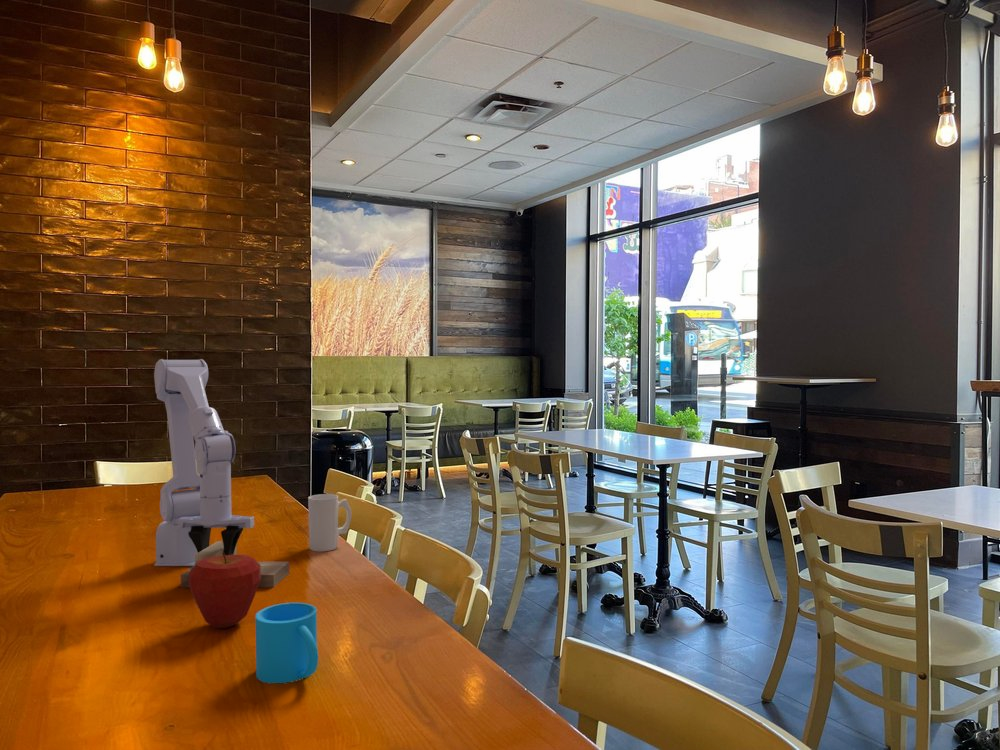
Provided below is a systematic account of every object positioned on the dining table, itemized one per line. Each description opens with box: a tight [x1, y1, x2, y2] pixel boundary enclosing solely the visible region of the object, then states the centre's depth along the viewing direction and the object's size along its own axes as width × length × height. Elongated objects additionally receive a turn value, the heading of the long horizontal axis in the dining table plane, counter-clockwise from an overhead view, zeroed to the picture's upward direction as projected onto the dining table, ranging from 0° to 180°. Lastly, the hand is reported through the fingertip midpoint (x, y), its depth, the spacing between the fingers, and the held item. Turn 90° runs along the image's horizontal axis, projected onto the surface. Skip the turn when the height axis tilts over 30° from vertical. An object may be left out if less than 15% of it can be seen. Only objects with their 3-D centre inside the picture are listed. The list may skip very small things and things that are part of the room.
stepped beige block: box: [189, 540, 238, 571], centre depth 138 cm, size 4×12×6 cm, turn 178°
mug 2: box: [307, 493, 352, 552], centre depth 163 cm, size 10×7×12 cm, turn 120°
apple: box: [188, 553, 261, 629], centre depth 115 cm, size 11×11×12 cm
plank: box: [180, 561, 290, 588], centre depth 139 cm, size 18×9×2 cm, turn 88°
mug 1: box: [255, 602, 319, 684], centre depth 96 cm, size 12×8×8 cm
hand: (216, 564), depth 139 cm, fingers closed on stepped beige block, 4 cm apart
